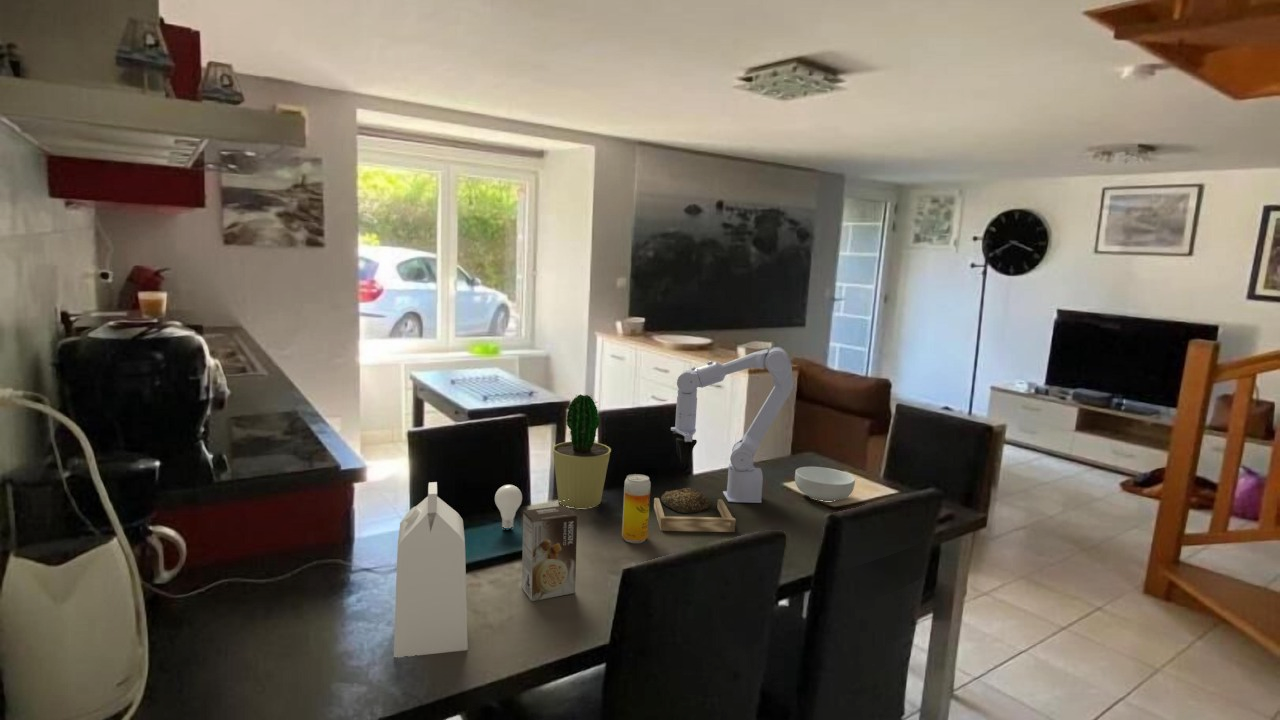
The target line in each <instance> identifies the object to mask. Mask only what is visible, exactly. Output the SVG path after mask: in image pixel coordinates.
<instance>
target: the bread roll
mask: <svg viewBox="0 0 1280 720" xmlns="http://www.w3.org/2000/svg"><path fill="white" fill-rule="evenodd" d="M660 499H661V500H660V501H661V502H662V504H663V505H665V506H666V507H667V508H669V509H672V510H673V511H675V512H677V513H682V514H683V513H684V514H689V513H690V514H691V513H697V512H698V513H699V512H702V511H704V510H707V509H709V508H710V506H711V503H710V501H709V499H708V497H706V495H704V494H703V493H702V492H701V491H699V490H698V489H694V488H691V487H685V488H680V489H673V490H670V491H668V490H667V491H665V492H664V493H663V494H662V495H661V498H660Z"/></svg>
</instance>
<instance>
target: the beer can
mask: <svg viewBox="0 0 1280 720" xmlns="http://www.w3.org/2000/svg"><path fill="white" fill-rule="evenodd" d="M651 484H652V482H651V481H650V477H649V476H648V475H645V474H638V473H637V474H636V473H634V474H632V473H631V474H628V475H626V478H625V480H624V484H623V485H624V487H623V503H622V504H623V505H622V506H623V508H622V525H621V526H622V527H621V537H622V538H623V539H624V541H625V542H628V543H631V544H641V543H644V542H645V541H646V539H648V536H649V519H650V517H649V516H650V502H651V500H650V499H651V487H652V486H651Z"/></svg>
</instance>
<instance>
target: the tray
mask: <svg viewBox="0 0 1280 720" xmlns="http://www.w3.org/2000/svg"><path fill="white" fill-rule="evenodd" d="M653 509H654V512H655V515H656V519H657V522H658V526H659V530H660V531H661V532H662V531H664V532H666V531H667V532H669V531H670V532H710V533H711V532H715V533H717V532H718V533H719V532H720V533H723V532H724V533H735V532H736V521H737V520H736V518H735V517H733V516H732V514H731V512H730V510H729V509H728V507H727V505H726V504H725V502H724V501H723V499H717V508H716V509H717V511H718V513H719V514H720V516H721V517H712V516H711V517H710V516H670V515H669V516H665V513H664V510H663V506H662V503H661V500H660V498H659V497H654V499H653Z"/></svg>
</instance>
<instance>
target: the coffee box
mask: <svg viewBox="0 0 1280 720" xmlns="http://www.w3.org/2000/svg"><path fill="white" fill-rule="evenodd" d="M522 511H523V513H522V514H523V515H522V559H521V560H522V561H521V563H522V564H521V588H522V590H523V591H524V592H525V594H526V595H527V597H528V599H529V600H530V601H531V602H536V601H540V600H541V601H542V600H546V599H551V598H556V597H561V596H566V595H571V594H575V593H576V581H577V580H576V577H577V576H576V575H577V573H576V572H577V542H578V541H577V536H578V515H577V514H576V513H575V512H574V511H573V509H570V508H568V507H566V506H565V505H564V506H562V505H558V506H557V505H556V506H552V507H551V506H550V507H542V508H541V507H540V508H533V509H526V510H522Z"/></svg>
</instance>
